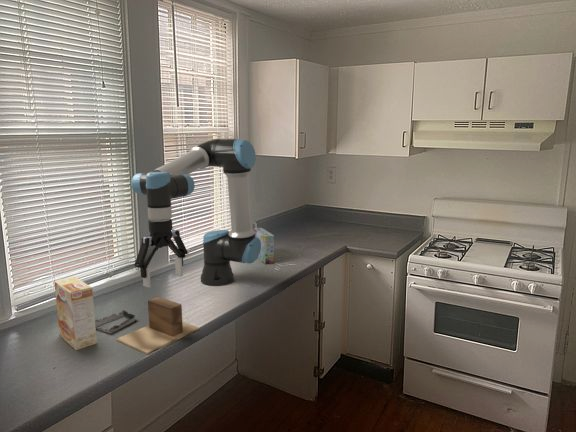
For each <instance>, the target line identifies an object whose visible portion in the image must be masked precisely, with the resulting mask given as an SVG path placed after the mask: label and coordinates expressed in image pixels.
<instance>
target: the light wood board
mask: <svg viewBox="0 0 576 432" xmlns="http://www.w3.org/2000/svg"><path fill="white" fill-rule="evenodd" d="M182 325H183V332H182V333H180V334H178V335H175V336H173V337H172V336H169V335H167V334H164V333H161V332H159V331H156V330H154V329H151V328H149V324H148V325H145V326H143V327H141V328H139V329H136V330H134V331H132V332H129V333H127V334H125V335H122V336H119V337H118V338H116V341H117V342H119V343H121V344H123V345H126V346H128V347H130V348H132V349H134V350H136V351H139V352H141V353H143V354H145V355H149V354H151V353H153V352H155V351H158V350H160V349H162V348H163V347H165V346H168V345H170V344H172V343H174V342H176V341H178V340H181V339H182V338H185V337H186V336H188V335H191V334H193V333H195V332H196V331H199V330H200V327H198V326H196V325H193V324H192V323H191V324H190V323H187V322H185V321H182Z"/></svg>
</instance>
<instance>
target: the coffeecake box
mask: <svg viewBox="0 0 576 432" xmlns="http://www.w3.org/2000/svg"><path fill="white" fill-rule="evenodd" d="M53 283H54V290H55V293H54V294H55V301H56V310H57V311H56V312H57V321H58V323H57V324H58V332H59V336H60V337H61V338H62V339H63V341H65V342H66V343H67V344H69V346H70V347H72V348H73V349H74V350H75V351H78V350H79V351H80V350H82V349H84V348H87V347H91V346H93V345H96V344H98V339H97V329H96V327H95V321H96V317H95V316H96V315H95V305H94V295H93V294H94V293H93V287H92V286H90V285H88V284H87V283H86V282H84V281H83V280H81V279H79V278H78V277H76V276H72V277H67V278H59V279H56V280H54V281H53Z"/></svg>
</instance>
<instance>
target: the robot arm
mask: <svg viewBox="0 0 576 432" xmlns="http://www.w3.org/2000/svg"><path fill="white" fill-rule="evenodd" d="M256 159H257V154H256V150H255V148H254V145H253V144H252V143H251V141H249V140H247V139H240V138H226V139H225V138H216V139H215V138H214V139H211V140H207V141H205V142H202V143H200V144H198V145H196V146H194V147H192V148H191V149H190V150H189V152H187V153H185V154H183V155H181V156H180V157H177V158H175V159H174V160H171V161H169V162H167V163H165V164H163V165H161V166H160V167H157V168H155V169H154V170H151V171H149V172H146V173H144V172H140V173H136V174H134V175H133V177H132V179H131V188H132V190H133V192H134V193H135V194H137V195H138V194H139V195H144V196H146V201H147V202H146V203H147V216H148V232H149V236H142V237H141V244H140V248H139V249H138V253H137V256H136V260H135V262H134V267H136V268H138V269H140V277H141V278H142V285H143V287H146V288H151V276H150V275H151V271H150V267H148V266H149V265H150V263H151V261H152V259H153V257H154V255H155V253H156V252H157V251H158V250H159V249H161V248H163V247H168V248H169V249H170V250H171V251H172V253H174V254H175V256H174V267H175V268H174V269H175V271H174V272H175V276H178V277H182V276H183V274H184V273H183V266H184V259H185V258H186V255H187V254H188V252H189V251H188V250H187V248H186V246H185V243H184V240H182V237H181V235H180V234H181V233H180V230H179V229H178V230H177V229H173V220H172V218H173V212H172V200H173V199H178V198H182V197H183V198H185V197H186V196H189V195H192V193H193V192H194V191H195V181H194V178H193V177H192V176H190V174H192V173H194V172H195V171H197V170H205V169H206V168H209V167H215V168H217V167H219V168H222V171H223V174H224V175H225V176H226V177H227V178H226V179H227V189H228V190H227V191H228V192H227V193H228V203H229V214H230V216H229V217H230V227H231V230H230V231H229V230H228V229H217V230H213V231H208V232H205V233H204V234H203V239H202V240H203V241H202V246H203V268H202V272H201V275H200V282H201V283H202V284H203V285H207V286H214V287H215V286H224V285H229V284H231V283H233V282H234V281H235V273H234V272H233V269H232V266H231V262H234V263H241V264H253V263H255V261H257V260H258V259H259V258H258V256H259V254H260V250H261V241H260V239H259V238H257V237H256V238H255V231H254V230H253V228H252V221H251V218H252V217H251V206H250V189H249V177H248V176H249V174H250V173H251V171H252V168H254V166H255V164H256ZM172 238H173V240H172Z"/></svg>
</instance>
